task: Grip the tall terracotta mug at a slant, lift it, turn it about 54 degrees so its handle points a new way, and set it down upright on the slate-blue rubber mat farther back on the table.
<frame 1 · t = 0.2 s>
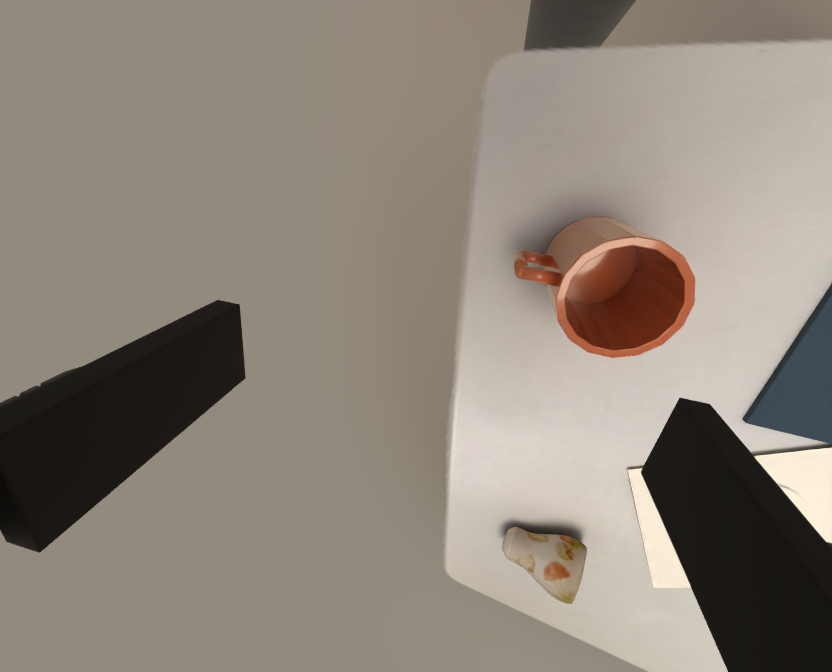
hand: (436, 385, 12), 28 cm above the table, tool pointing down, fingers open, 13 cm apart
tall mug: (590, 263, 35), on the table
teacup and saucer: (739, 525, 43), on the table, touching mat
floral patterned cup: (540, 537, 50), on the table
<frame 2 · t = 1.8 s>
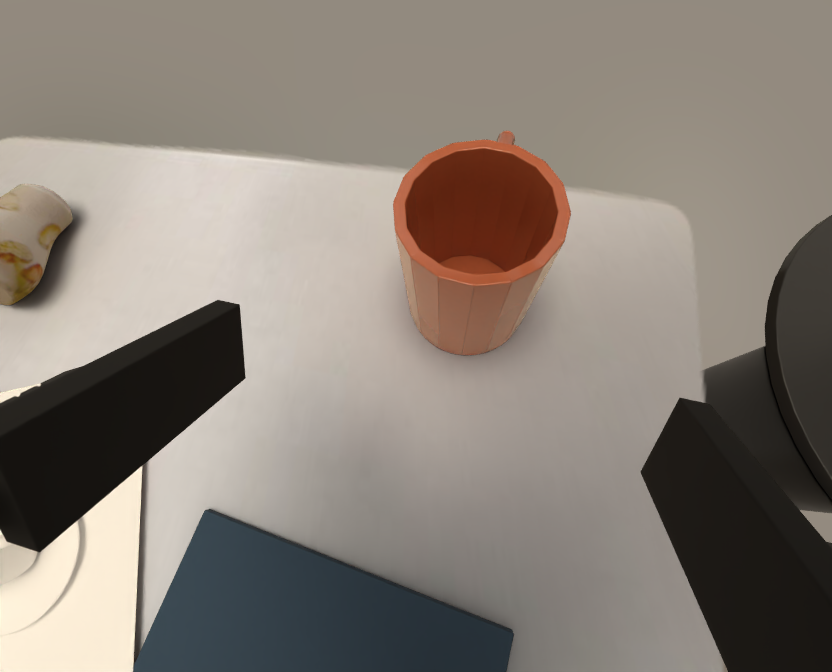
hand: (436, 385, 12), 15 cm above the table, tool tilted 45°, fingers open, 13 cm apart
tall mug: (466, 302, 29), on the table
floral patterned cup: (41, 256, 33), on the table
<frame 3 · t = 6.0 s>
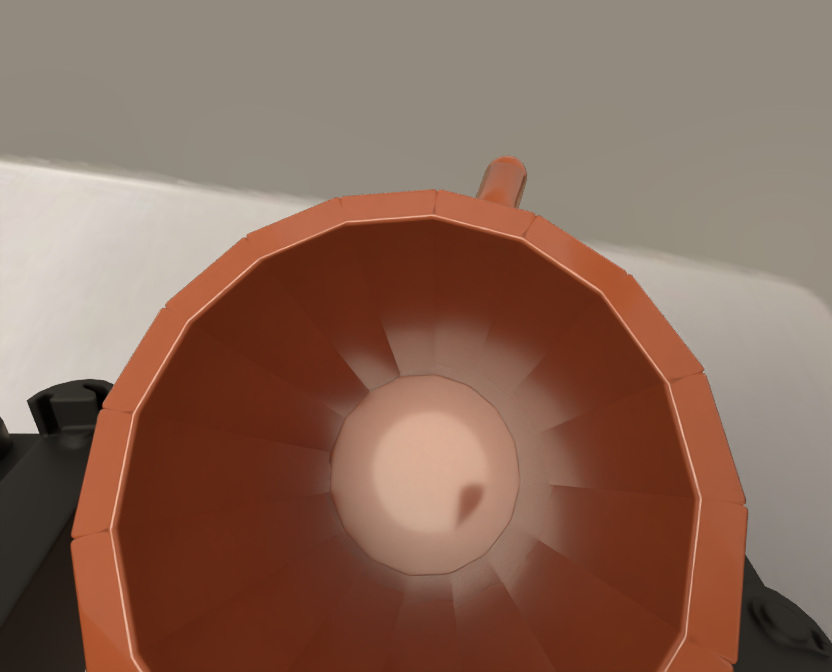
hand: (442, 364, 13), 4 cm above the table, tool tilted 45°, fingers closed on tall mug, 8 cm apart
tall mug: (424, 467, 15), on the table, touching gripper
when the fingers open (4 cm above the table, at t = 16.9 s): tall mug stays where it is, resting on mat.
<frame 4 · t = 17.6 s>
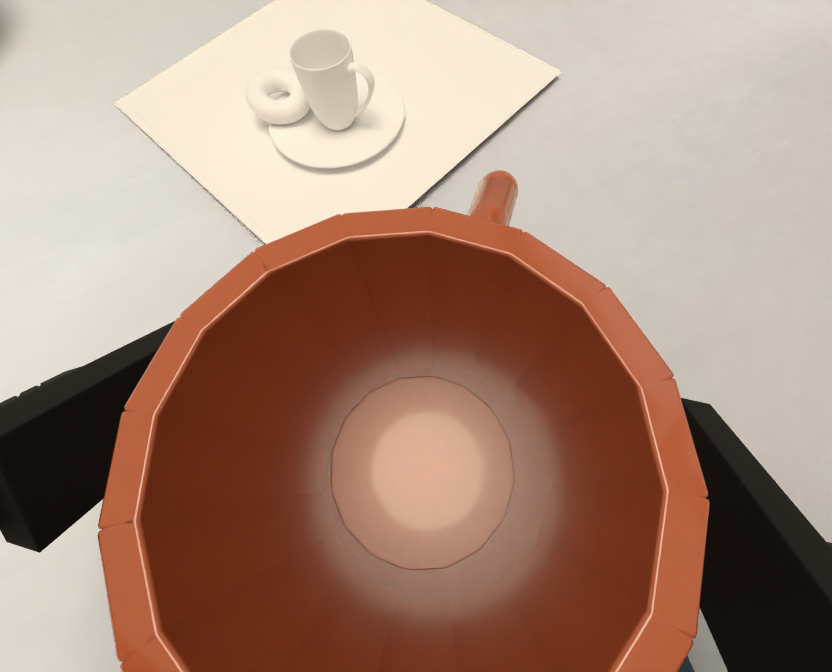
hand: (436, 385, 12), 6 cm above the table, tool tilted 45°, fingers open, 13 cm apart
tall mug: (421, 465, 16), point 1 cm above the table, touching mat
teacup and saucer: (332, 90, 24), on the table, touching mat
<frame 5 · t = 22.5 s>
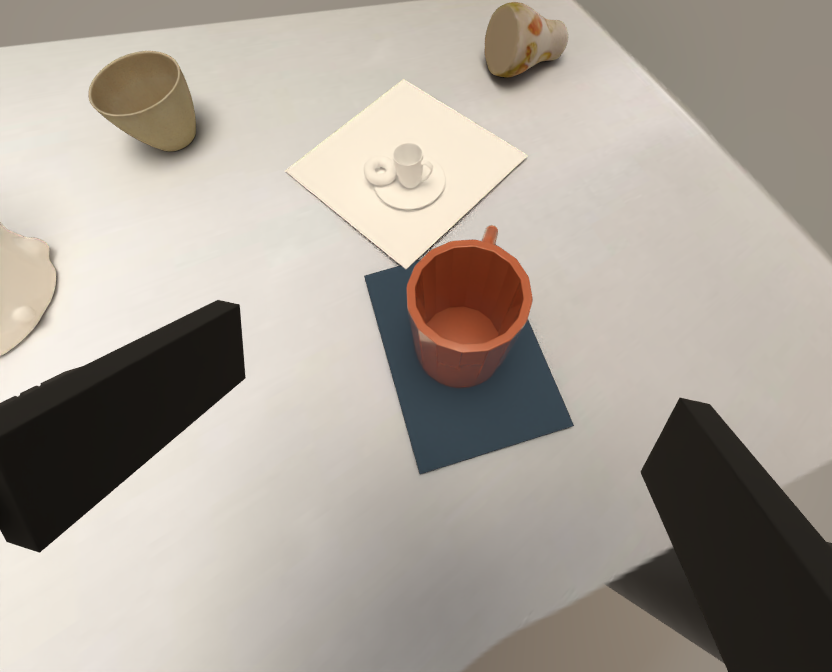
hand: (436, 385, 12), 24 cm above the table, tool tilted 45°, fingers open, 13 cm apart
mat: (459, 346, 37), on the table
tall mug: (459, 344, 36), point 1 cm above the table, touching mat
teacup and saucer: (404, 164, 45), on the table, touching mat
floral patterned cup: (522, 64, 50), on the table
flower pot: (177, 137, 48), on the table
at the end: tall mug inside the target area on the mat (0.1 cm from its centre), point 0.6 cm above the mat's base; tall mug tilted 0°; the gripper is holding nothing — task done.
